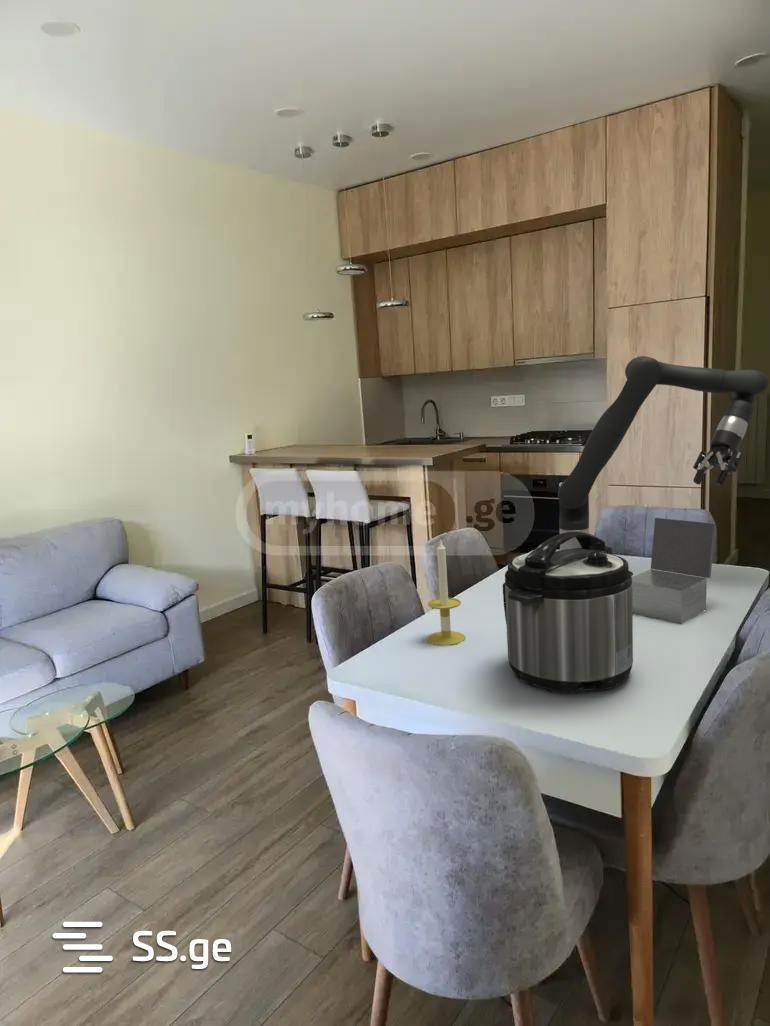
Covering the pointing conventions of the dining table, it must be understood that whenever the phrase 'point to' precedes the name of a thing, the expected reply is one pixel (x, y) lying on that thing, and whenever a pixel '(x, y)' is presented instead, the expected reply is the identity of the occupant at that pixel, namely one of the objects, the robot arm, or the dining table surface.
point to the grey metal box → (668, 595)
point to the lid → (683, 547)
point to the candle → (444, 606)
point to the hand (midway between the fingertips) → (707, 483)
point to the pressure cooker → (569, 615)
